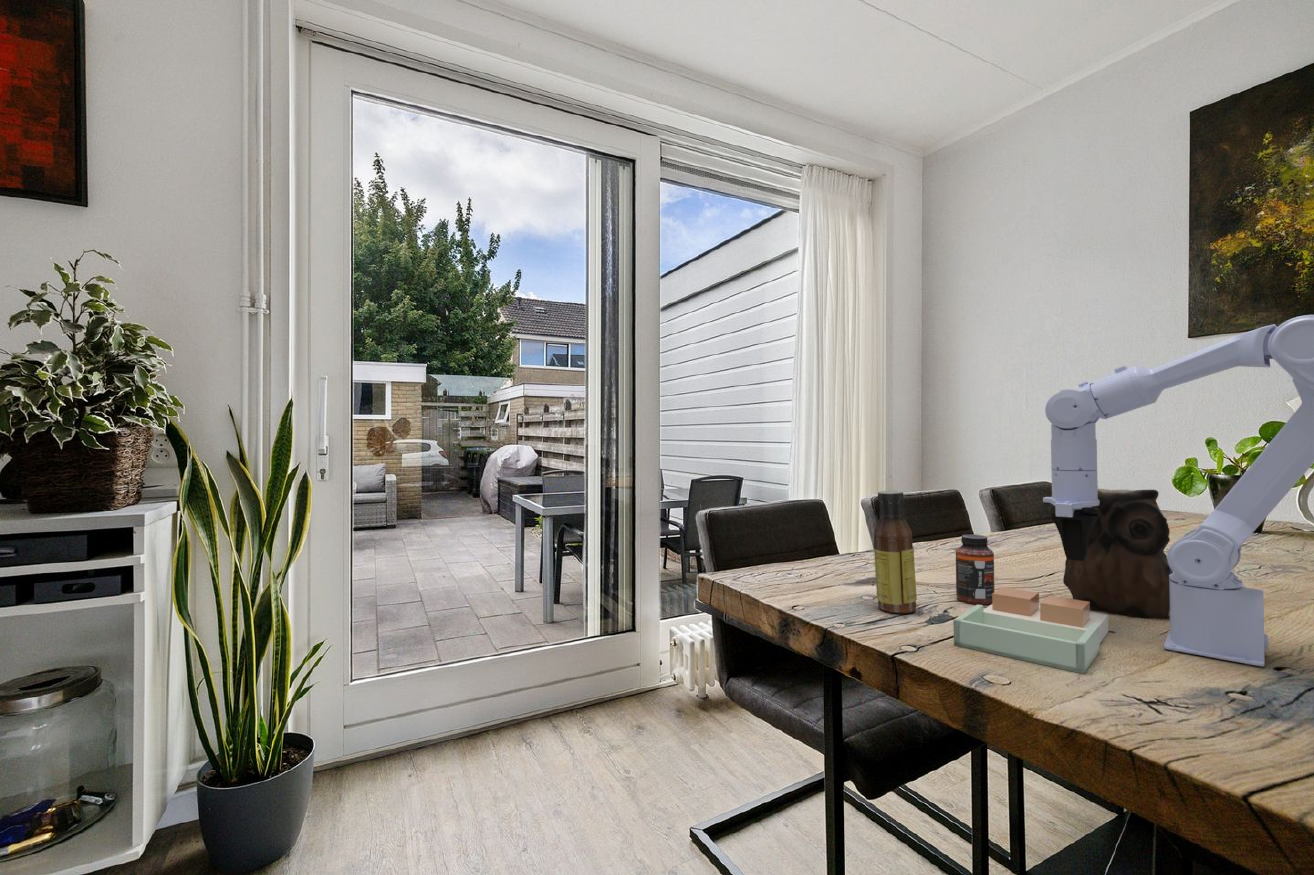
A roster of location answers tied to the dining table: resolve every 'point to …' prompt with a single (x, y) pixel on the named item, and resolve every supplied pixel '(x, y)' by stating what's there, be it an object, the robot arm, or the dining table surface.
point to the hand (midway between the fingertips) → (1075, 559)
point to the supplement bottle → (974, 570)
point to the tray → (1026, 643)
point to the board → (1044, 624)
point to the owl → (1124, 557)
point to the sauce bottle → (894, 556)
